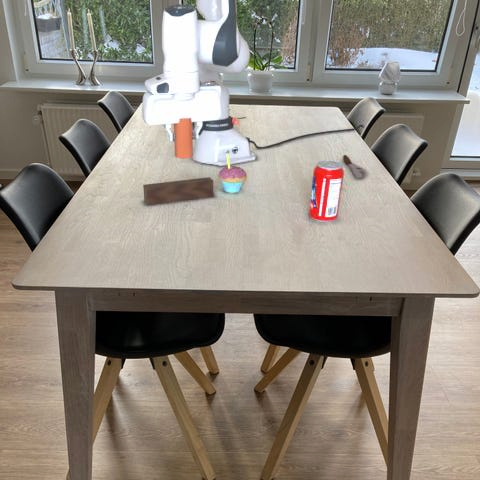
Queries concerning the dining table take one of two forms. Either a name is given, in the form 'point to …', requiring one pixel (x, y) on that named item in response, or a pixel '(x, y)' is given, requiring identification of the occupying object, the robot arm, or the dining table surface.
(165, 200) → the wall
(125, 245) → the dining table surface
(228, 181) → the cupcake
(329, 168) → the soda can
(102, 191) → the dining table surface
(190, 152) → the capped bottle
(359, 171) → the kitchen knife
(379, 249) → the dining table surface
